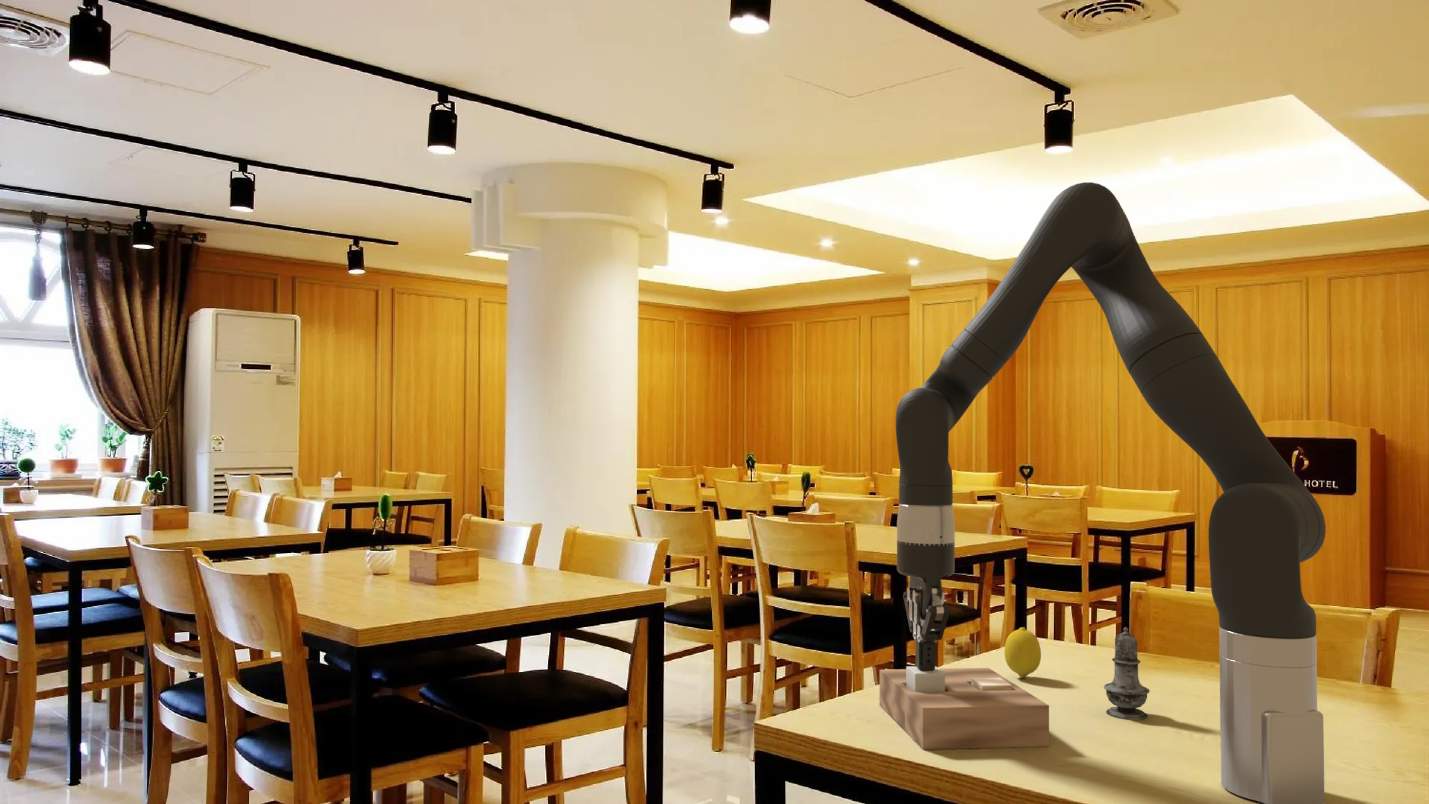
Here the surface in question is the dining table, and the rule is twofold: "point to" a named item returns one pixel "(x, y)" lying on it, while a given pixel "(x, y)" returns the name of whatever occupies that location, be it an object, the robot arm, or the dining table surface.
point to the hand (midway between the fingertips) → (925, 669)
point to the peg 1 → (925, 680)
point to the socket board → (965, 712)
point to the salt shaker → (1126, 680)
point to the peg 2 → (990, 684)
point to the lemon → (1022, 652)
